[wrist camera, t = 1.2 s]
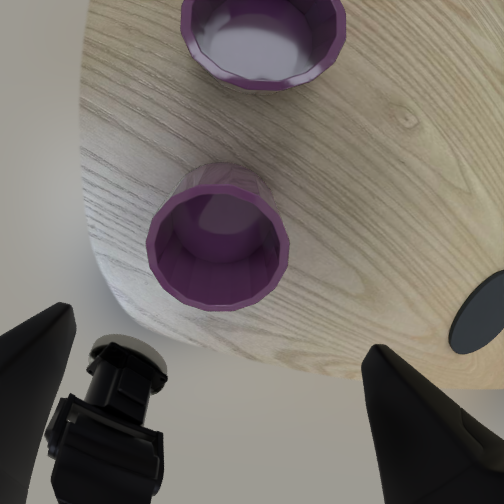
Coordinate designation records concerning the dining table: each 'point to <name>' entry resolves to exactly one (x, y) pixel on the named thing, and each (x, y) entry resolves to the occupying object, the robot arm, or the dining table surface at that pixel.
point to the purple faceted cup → (263, 41)
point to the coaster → (479, 316)
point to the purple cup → (218, 239)
